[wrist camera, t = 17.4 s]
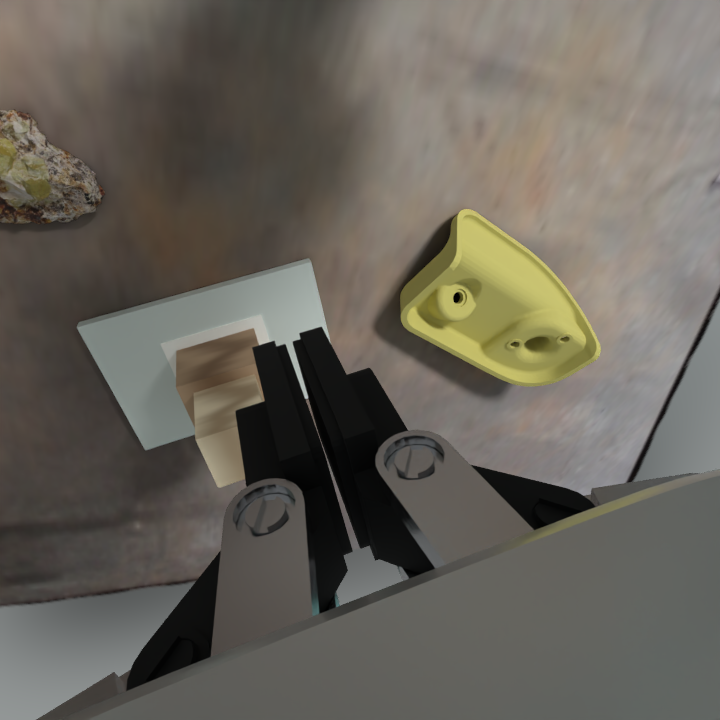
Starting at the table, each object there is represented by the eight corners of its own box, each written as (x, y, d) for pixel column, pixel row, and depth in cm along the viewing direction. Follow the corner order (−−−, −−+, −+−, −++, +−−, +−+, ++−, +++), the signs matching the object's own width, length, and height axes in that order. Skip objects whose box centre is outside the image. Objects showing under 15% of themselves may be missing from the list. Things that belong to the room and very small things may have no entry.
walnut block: (253, 327, 46) (262, 361, 41) (273, 388, 50) (284, 425, 45) (176, 350, 45) (175, 387, 40) (203, 411, 49) (205, 451, 44)
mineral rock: (-90, 213, 34) (-95, 97, 29) (-67, 182, 37) (-67, 72, 32) (89, 261, 39) (109, 168, 34) (97, 230, 42) (117, 140, 37)
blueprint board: (308, 257, 46) (311, 262, 45) (338, 382, 53) (341, 388, 52) (78, 322, 42) (76, 328, 41) (145, 444, 50) (145, 451, 49)
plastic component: (389, 320, 49) (466, 251, 42) (388, 268, 53) (457, 198, 47) (532, 397, 57) (615, 349, 51) (521, 346, 62) (594, 296, 56)
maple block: (254, 374, 42) (264, 417, 37) (270, 420, 44) (282, 466, 39) (193, 393, 41) (195, 440, 36) (214, 438, 44) (218, 488, 39)
